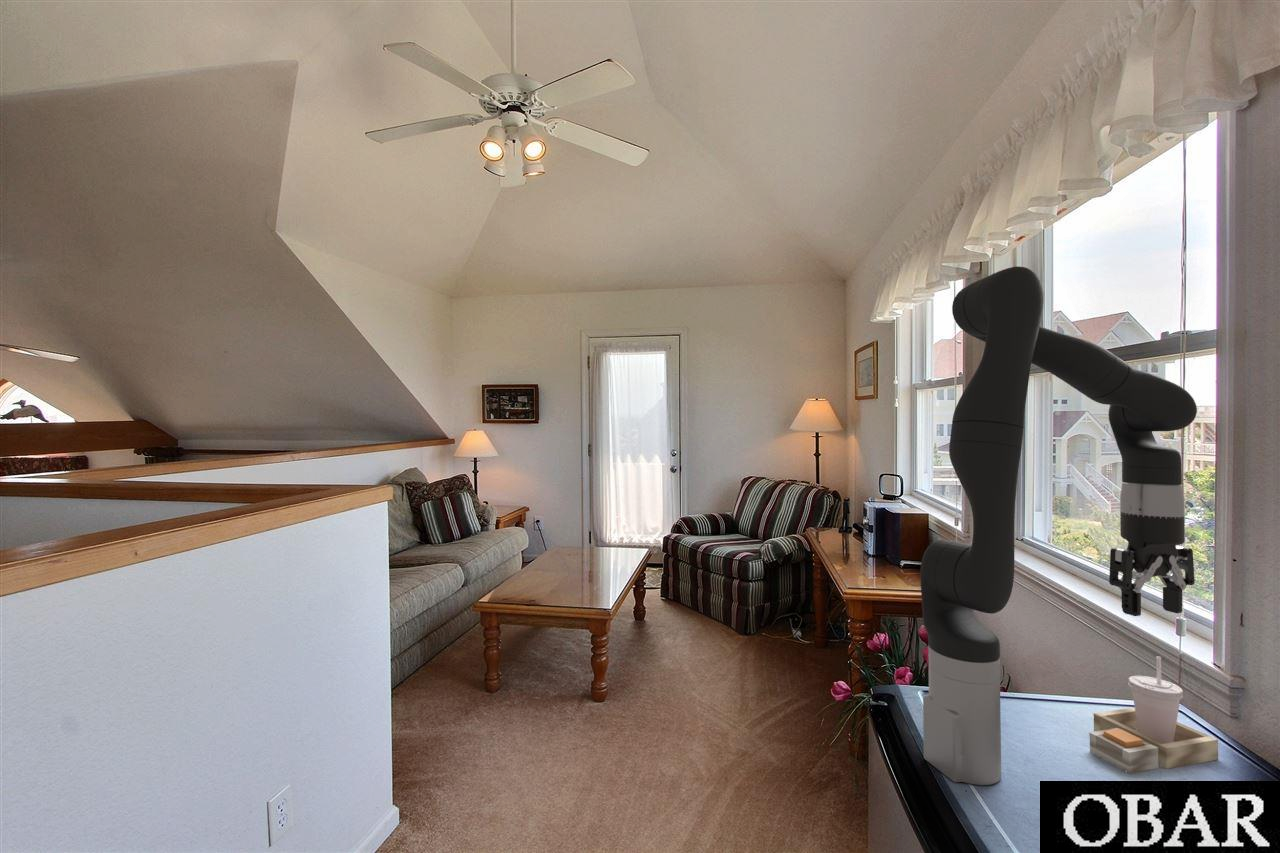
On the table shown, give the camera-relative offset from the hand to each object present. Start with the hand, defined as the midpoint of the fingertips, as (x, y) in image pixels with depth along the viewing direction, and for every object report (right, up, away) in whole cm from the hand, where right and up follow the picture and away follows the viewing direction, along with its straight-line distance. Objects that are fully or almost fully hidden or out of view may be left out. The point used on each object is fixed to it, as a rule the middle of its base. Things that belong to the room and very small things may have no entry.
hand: (1152, 613), depth 87 cm
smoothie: (0, -21, 0) cm, 21 cm away
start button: (-8, -20, -4) cm, 22 cm away
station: (-3, -21, -1) cm, 21 cm away
